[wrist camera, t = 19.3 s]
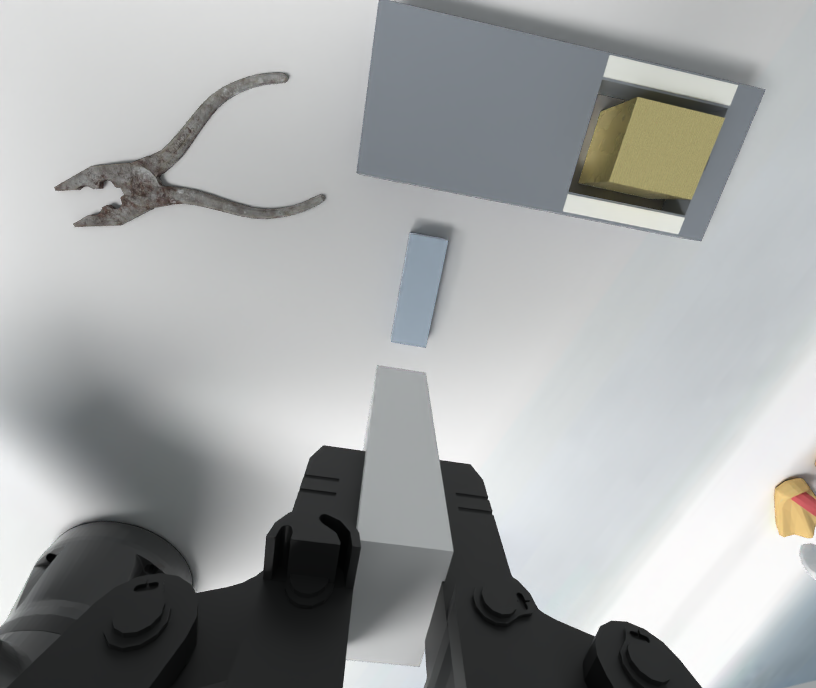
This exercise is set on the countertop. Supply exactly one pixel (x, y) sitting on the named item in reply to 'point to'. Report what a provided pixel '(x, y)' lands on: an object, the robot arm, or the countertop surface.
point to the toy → (797, 517)
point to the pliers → (144, 173)
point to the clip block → (650, 149)
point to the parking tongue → (418, 289)
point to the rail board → (524, 116)
